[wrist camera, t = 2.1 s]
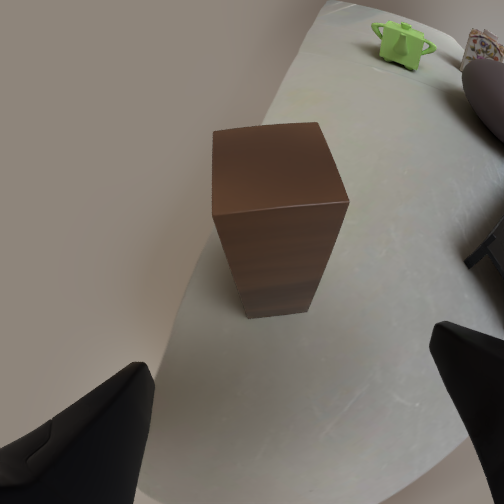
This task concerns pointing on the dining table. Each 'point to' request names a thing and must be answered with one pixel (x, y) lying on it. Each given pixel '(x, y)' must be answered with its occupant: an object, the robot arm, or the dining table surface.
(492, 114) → the smooth stone
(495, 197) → the dining table surface
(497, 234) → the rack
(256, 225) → the walnut block
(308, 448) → the dining table surface
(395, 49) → the teapot
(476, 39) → the decorative jar
